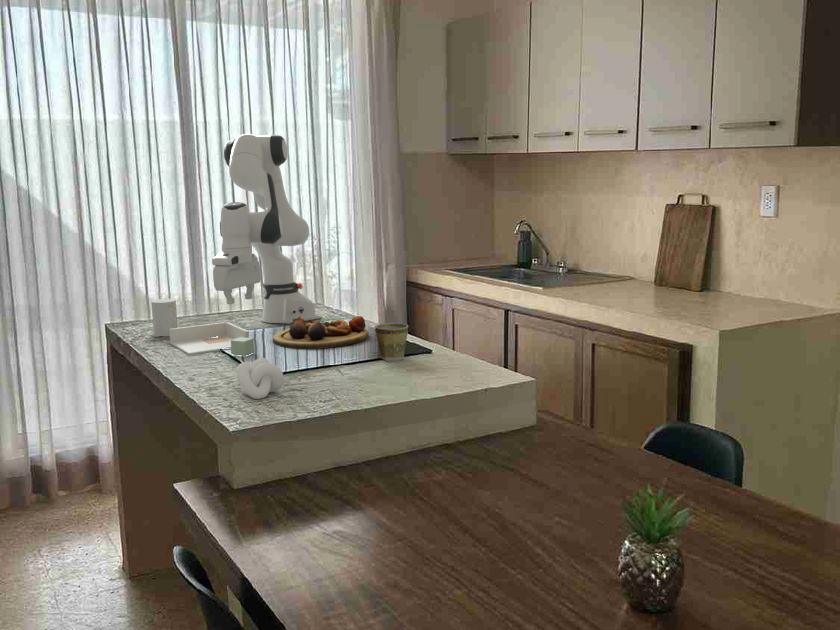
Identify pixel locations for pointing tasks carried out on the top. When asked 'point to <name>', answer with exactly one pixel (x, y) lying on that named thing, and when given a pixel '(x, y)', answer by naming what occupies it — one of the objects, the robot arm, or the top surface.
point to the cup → (164, 316)
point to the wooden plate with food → (322, 333)
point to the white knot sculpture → (259, 378)
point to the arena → (206, 337)
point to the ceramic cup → (391, 340)
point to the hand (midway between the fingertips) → (239, 301)
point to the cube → (242, 346)
